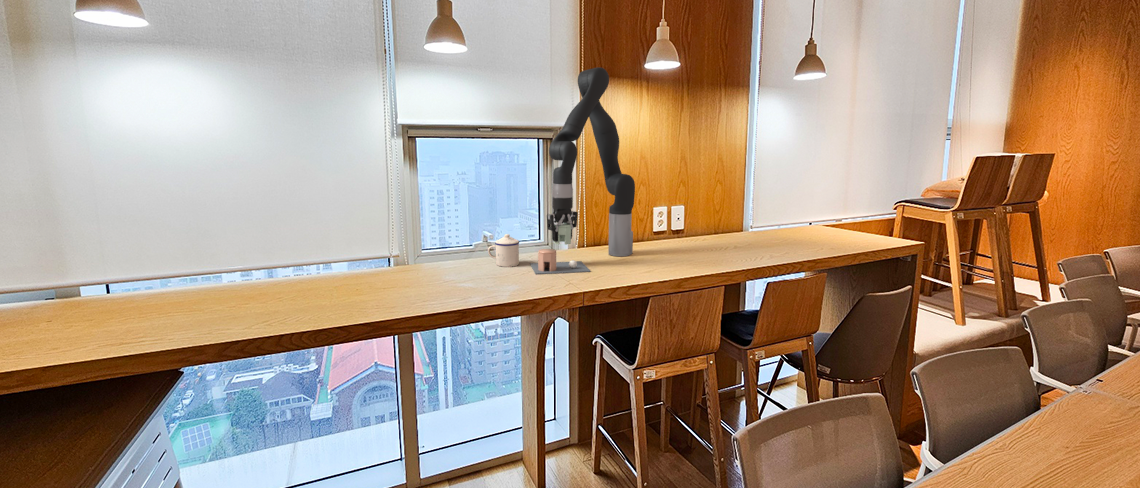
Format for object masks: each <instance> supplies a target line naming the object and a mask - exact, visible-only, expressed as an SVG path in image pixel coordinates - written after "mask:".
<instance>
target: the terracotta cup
mask: <svg viewBox="0 0 1140 488" xmlns="http://www.w3.org/2000/svg"><path fill="white" fill-rule="evenodd" d="M537 254H538V256H537V258H538V259H537V260H538V261H537V263H538V270H539V271H544V268H550V272H551V271H555V270H556V262H557V249H554V248H541V249H538V252H537Z"/></svg>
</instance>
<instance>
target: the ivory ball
mask: <svg viewBox="0 0 1140 488" xmlns="http://www.w3.org/2000/svg"><path fill="white" fill-rule="evenodd" d="M568 262H569V267H570V268H575V267H576V266H577V262H576V260H574V259H573V260H569V261H568Z"/></svg>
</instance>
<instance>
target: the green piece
mask: <svg viewBox="0 0 1140 488" xmlns="http://www.w3.org/2000/svg"><path fill="white" fill-rule="evenodd" d="M555 228H556V225H555ZM557 232H558V241H557V242H555V241H553V244H555V245H560V242H561V243H564V245H571V244H572V239H571V224H564V223H562V224H561V226H559V227H558V231H557Z"/></svg>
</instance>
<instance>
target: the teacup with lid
mask: <svg viewBox="0 0 1140 488" xmlns="http://www.w3.org/2000/svg"><path fill="white" fill-rule="evenodd" d="M519 245H520V241H519V240H518V239H515V238H514V237H512V236H511V235H510V234H509V233H507V234H506V233H505V234H504V236H503V237H500V239H496V240H495V243H494V245H490V246H489V247H488V248H487V253H488V255H489V257H490V258H492V259H495V264H496V266H497V267H501V266H502V267H501V268H509V267H510V268H513V267H518V265H519V263H520V260H519V259H520V254H519V252H520V250H519V249H520V247H519ZM491 248H495V255H493V254H492V253H491ZM512 266H513V267H512Z"/></svg>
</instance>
